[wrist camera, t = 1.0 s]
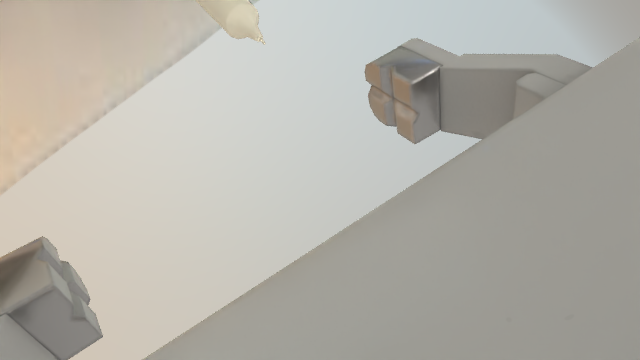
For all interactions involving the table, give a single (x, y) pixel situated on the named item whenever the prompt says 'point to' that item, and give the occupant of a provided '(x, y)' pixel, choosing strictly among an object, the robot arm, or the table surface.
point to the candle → (235, 17)
